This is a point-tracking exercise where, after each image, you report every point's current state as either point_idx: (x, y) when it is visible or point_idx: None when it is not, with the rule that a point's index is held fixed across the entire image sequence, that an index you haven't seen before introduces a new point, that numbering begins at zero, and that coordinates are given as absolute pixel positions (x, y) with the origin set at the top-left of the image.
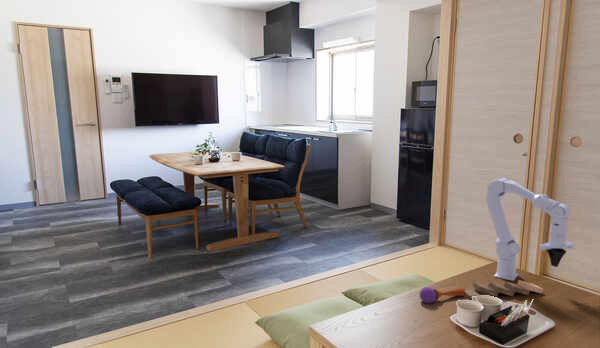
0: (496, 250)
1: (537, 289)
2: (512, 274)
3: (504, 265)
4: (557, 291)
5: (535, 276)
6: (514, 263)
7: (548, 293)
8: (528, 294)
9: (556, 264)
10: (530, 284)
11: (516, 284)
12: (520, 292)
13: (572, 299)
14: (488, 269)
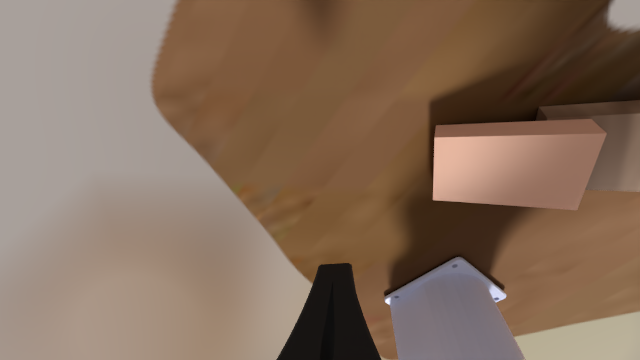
0: None
1: (481, 131)
2: (453, 289)
3: (514, 340)
4: (322, 147)
5: None
6: (466, 348)
7: (392, 125)
8: (542, 108)
9: (341, 281)
10: (515, 168)
11: None
12: (633, 101)
13: (304, 34)
14: None
